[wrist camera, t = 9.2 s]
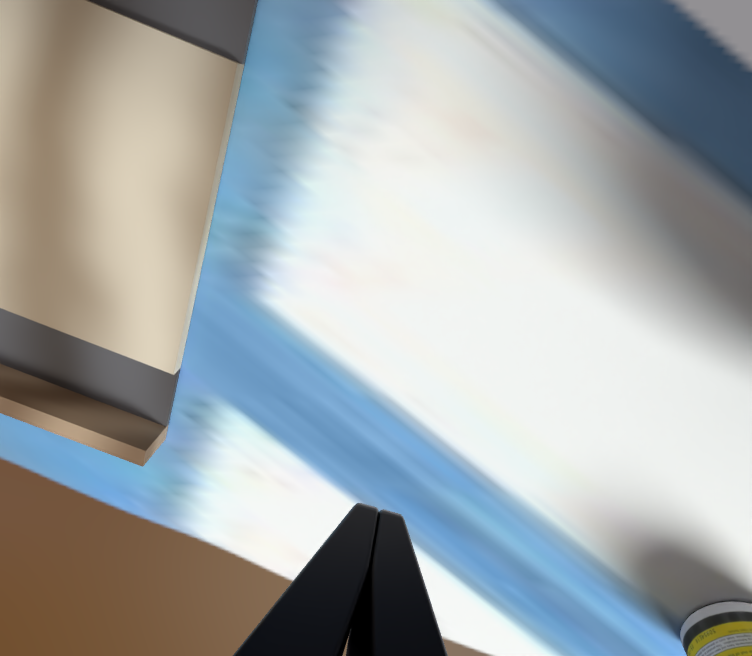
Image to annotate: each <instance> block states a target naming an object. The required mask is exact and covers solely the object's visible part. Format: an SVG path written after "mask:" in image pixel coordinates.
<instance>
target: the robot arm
mask: <svg viewBox="0 0 752 656" xmlns="http://www.w3.org/2000/svg"><path fill="white" fill-rule="evenodd" d="M348 636H349V639H348ZM347 639H348V645H347V652H346V656H448V655H447V652H446V649H445V646H444V643H443V639H442V636H441V633H440V630H439V627H438V624H437V621H436V618H435V614H434V611H433V608H432V605H431V602H430V599H429V596H428V592H427V589H426V586H425V583H424V580H423V577H422V574H421V571H420V567H419V564H418V561H417V558H416V555H415V552H414V549H413V545H412V542H411V539H410V536H409V533H408V530H407V527H406V524H405V520H404V518H403V516H402V515H401V514H398V513H394V512H391V511H387V510H381V511H380V512H379V511H378V509H377V508H376V507H373V506H369V505H366V504H362V503H357V504H356V505H354V507H353V508H352V509H351V510H350V512H349V513H348V514H347V515H346V516H345V518H344V519H343V520H342V521H341V523H340V524H339V525H338V526H337V528H336V529H335V530H334V531H333V533H332V534H331V535H330V536H329V537H328V539H327V540H326V541H325V542H324V544H323V545H322V546H321V547H320V549H319V550H318V551H317V552H316V554H315V555H314V556H313V557H312V559H311V560H310V561H309V562H308V563H307V565H306V566H305V567H304V568H303V570H302V571H301V572H300V573H299V575H298V576H297V577H296V578H295V580H294V581H293V582H292V583H291V585H290V586H289V587H288V588H287V589H286V591H285V592H284V593H283V594H282V596H281V597H280V598H279V599H278V601H277V602H276V603H275V604H274V606H273V607H272V608H271V609H270V611H269V612H268V613H267V614H266V615H265V617H264V618H263V619H262V620H261V622H260V623H259V624H258V625H257V627H256V628H255V629H254V630H253V631H252V633H251V634H250V635H249V636H248V638H247V639H246V640H245V641H244V643H243V644H242V645H241V646H240V648H239V649H238V650H237V651H236V653H235V654H234V655H233V656H342V655H343V652H344V649H345V645H346V642H347Z"/></svg>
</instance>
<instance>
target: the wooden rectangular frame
mask: <svg viewBox="0 0 752 656" xmlns="http://www.w3.org/2000/svg"><path fill="white" fill-rule="evenodd" d="M257 2H258V0H0V413H2V414H4V415H7V416H10V417H12V418H15V419H18V420H20V421H23V422H26V423H28V424H31V425H34V426H36V427H39V428H42V429H44V430H47V431H50V432H52V433H55V434H58V435H60V436H63V437H65V438H68V439H71V440H73V441H76V442H79V443H81V444H84V445H87V446H89V447H92V448H95V449H97V450H100V451H103V452H105V453H108V454H111V455H113V456H116V457H119V458H121V459H124V460H127V461H129V462H132V463H135V464H137V465H140V466H144V465H145V463H146V462H147V461H148V460H149V459H150V457H151V456H152V455H153V454H154V452H155V451H156V450H157V449H158V448H159V446H160V445H161V444H162V443H163V442H164V440H165V439H166V434H167V429H168V425H169V420H170V415H171V410H172V406H173V401H174V396H175V391H176V387H177V382H178V377H179V372H180V368H181V363H182V358H183V353H184V349H185V344H186V339H187V334H188V330H189V325H190V320H191V315H192V311H193V306H194V301H195V296H196V292H197V287H198V282H199V277H200V273H201V268H202V263H203V258H204V254H205V249H206V244H207V239H208V235H209V230H210V225H211V221H212V216H213V211H214V206H215V202H216V197H217V192H218V187H219V183H220V178H221V173H222V168H223V164H224V159H225V154H226V149H227V145H228V140H229V135H230V130H231V126H232V121H233V116H234V111H235V107H236V102H237V97H238V92H239V88H240V83H241V78H242V73H243V69H244V64H245V59H246V54H247V50H248V45H249V40H250V35H251V31H252V26H253V21H254V17H255V12H256V7H257Z"/></svg>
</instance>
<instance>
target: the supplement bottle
mask: <svg viewBox="0 0 752 656" xmlns="http://www.w3.org/2000/svg"><path fill="white" fill-rule="evenodd" d="M680 637H681V642H682V645H683V647H684V650H685V652H686V654H687V656H752V604H750V603H745V602H721V603H715V604H712V605H709V606H706V607H703V608H701V609H699V610H697V611H696V612H694V613H693V614H692V615H690V616H689V617H688V618H687V620H686V621H685V622H684V624H683V626H682V628H681V632H680Z"/></svg>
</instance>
